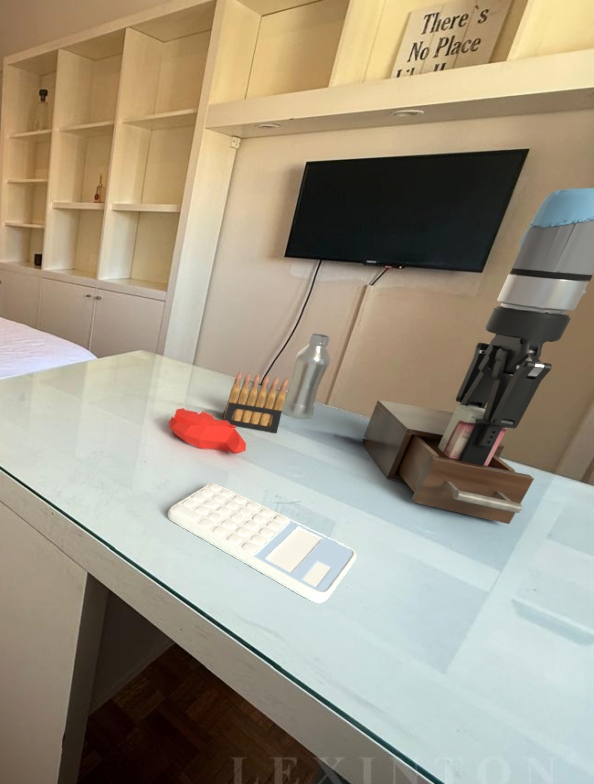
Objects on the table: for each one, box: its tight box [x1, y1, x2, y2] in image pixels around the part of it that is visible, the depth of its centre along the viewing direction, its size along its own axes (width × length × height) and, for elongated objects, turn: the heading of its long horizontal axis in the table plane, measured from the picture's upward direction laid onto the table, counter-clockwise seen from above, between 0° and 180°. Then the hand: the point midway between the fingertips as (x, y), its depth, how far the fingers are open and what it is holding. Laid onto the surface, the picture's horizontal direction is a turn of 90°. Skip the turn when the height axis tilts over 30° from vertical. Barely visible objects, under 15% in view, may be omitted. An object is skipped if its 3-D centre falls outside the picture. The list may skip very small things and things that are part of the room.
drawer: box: [397, 434, 535, 525], centre depth 73 cm, size 19×12×8 cm, turn 157°
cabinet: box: [360, 399, 505, 483], centre depth 84 cm, size 16×13×10 cm
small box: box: [438, 404, 508, 466], centre depth 71 cm, size 5×4×8 cm
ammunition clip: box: [221, 371, 289, 434], centre depth 96 cm, size 11×2×12 cm, turn 72°
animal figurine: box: [168, 407, 247, 455], centre depth 88 cm, size 12×15×5 cm
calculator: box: [167, 483, 357, 604], centre depth 61 cm, size 13×20×2 cm, turn 40°
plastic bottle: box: [281, 333, 331, 420], centre depth 100 cm, size 6×7×20 cm
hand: (463, 455), depth 72 cm, fingers closed on small box, 4 cm apart
